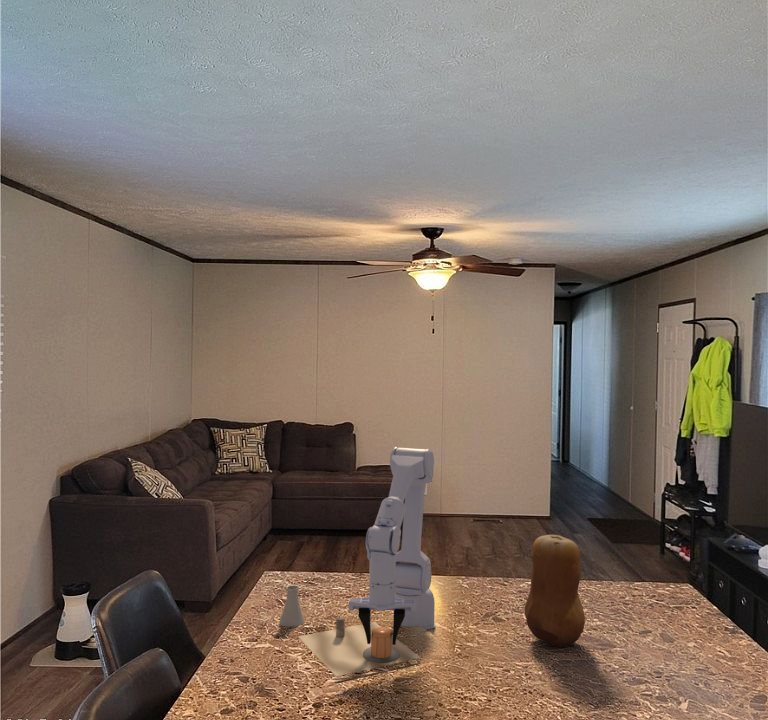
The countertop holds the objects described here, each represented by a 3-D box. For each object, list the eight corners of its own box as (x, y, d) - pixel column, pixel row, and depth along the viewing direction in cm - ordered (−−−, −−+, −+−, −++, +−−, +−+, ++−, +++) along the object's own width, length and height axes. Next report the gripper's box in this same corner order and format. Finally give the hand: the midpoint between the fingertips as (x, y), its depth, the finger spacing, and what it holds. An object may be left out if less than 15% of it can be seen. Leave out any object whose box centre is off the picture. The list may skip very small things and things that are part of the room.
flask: (301, 635, 170) (302, 593, 170) (272, 632, 171) (273, 590, 171) (310, 623, 177) (311, 583, 177) (282, 620, 178) (283, 581, 178)
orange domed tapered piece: (391, 649, 158) (392, 627, 158) (390, 658, 154) (391, 635, 154) (371, 648, 159) (372, 626, 158) (370, 657, 154) (370, 634, 154)
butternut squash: (588, 637, 171) (590, 533, 170) (579, 660, 158) (581, 548, 158) (531, 627, 176) (533, 526, 176) (517, 648, 164) (519, 540, 164)
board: (374, 627, 175) (374, 605, 175) (420, 664, 155) (420, 639, 155) (297, 642, 165) (297, 619, 165) (336, 683, 146) (336, 657, 146)
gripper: (347, 586, 152) (346, 649, 153) (415, 588, 152) (414, 651, 152) (350, 575, 159) (349, 635, 160) (415, 577, 159) (414, 637, 159)
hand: (381, 642), depth 156 cm, fingers open, 5 cm apart
